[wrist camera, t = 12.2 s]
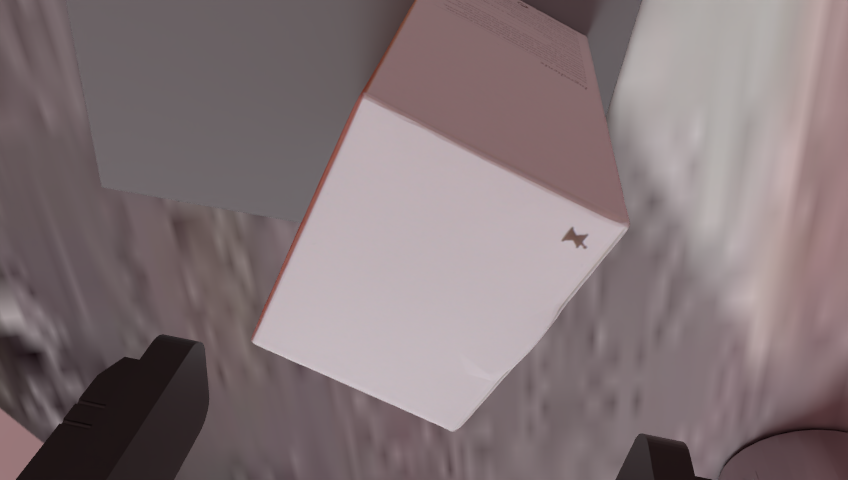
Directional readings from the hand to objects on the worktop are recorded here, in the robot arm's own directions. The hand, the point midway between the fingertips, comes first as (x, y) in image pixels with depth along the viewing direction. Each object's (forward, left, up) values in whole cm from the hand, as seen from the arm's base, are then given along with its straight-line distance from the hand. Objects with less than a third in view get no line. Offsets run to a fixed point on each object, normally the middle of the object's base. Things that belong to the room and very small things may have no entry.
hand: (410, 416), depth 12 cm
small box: (0, 0, -17) cm, 17 cm away
